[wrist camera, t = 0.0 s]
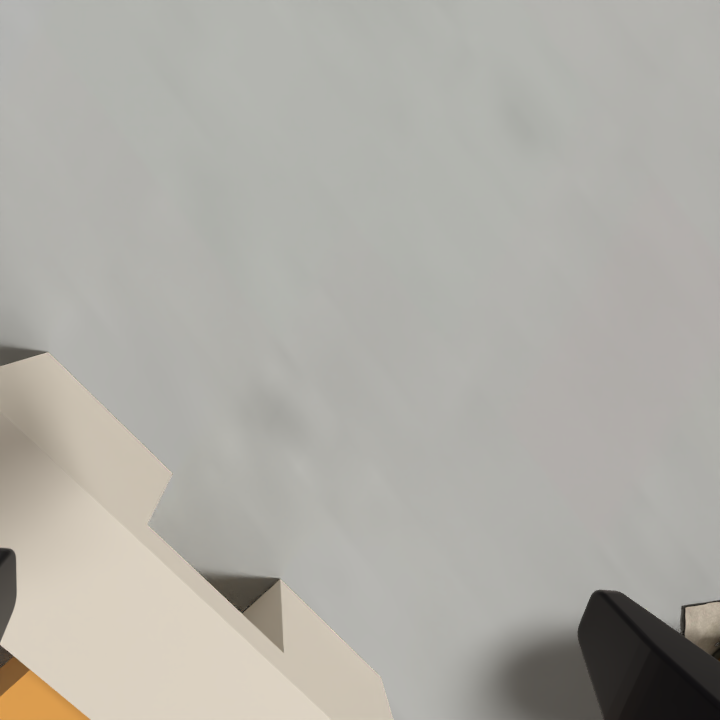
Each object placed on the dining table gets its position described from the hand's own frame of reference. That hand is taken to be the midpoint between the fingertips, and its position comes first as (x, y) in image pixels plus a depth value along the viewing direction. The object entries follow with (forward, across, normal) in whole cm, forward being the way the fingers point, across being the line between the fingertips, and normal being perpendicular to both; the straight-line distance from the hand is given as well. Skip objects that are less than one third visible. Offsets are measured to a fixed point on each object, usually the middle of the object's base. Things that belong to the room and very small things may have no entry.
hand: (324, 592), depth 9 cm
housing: (+13, +3, +11) cm, 18 cm away
